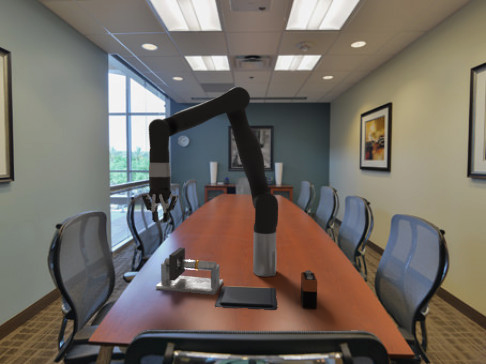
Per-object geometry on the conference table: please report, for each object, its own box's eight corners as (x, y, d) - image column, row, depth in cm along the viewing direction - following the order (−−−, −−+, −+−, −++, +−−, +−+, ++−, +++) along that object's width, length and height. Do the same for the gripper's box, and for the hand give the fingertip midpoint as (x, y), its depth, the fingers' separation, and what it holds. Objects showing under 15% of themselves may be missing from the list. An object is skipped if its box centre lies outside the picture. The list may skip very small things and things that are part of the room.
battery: (313, 298, 92) (314, 269, 91) (317, 309, 85) (317, 278, 84) (300, 298, 92) (301, 269, 92) (302, 308, 86) (303, 277, 85)
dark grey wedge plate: (185, 270, 106) (184, 247, 105) (174, 280, 97) (174, 255, 97) (180, 270, 106) (179, 247, 106) (169, 280, 98) (169, 255, 97)
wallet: (213, 303, 86) (222, 282, 101) (213, 309, 86) (222, 287, 101) (277, 307, 84) (277, 285, 99) (277, 313, 84) (276, 290, 99)
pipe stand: (223, 282, 104) (223, 257, 103) (215, 295, 94) (215, 267, 93) (169, 277, 108) (168, 252, 107) (155, 288, 98) (155, 261, 98)
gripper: (182, 175, 103) (182, 220, 104) (147, 174, 106) (148, 219, 107) (173, 176, 95) (173, 225, 97) (136, 175, 98) (137, 223, 99)
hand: (160, 221), depth 102 cm, fingers open, 3 cm apart
